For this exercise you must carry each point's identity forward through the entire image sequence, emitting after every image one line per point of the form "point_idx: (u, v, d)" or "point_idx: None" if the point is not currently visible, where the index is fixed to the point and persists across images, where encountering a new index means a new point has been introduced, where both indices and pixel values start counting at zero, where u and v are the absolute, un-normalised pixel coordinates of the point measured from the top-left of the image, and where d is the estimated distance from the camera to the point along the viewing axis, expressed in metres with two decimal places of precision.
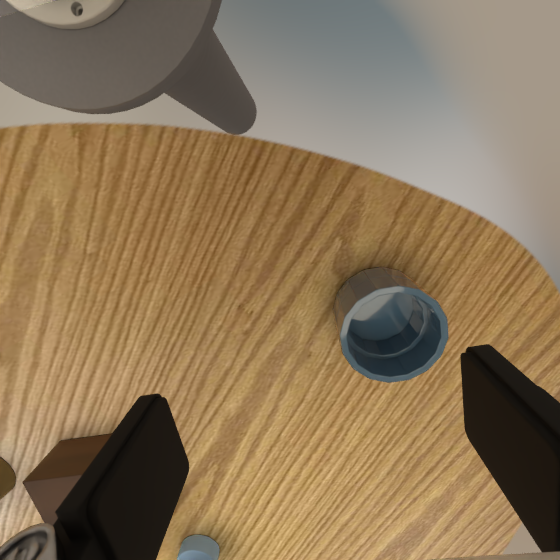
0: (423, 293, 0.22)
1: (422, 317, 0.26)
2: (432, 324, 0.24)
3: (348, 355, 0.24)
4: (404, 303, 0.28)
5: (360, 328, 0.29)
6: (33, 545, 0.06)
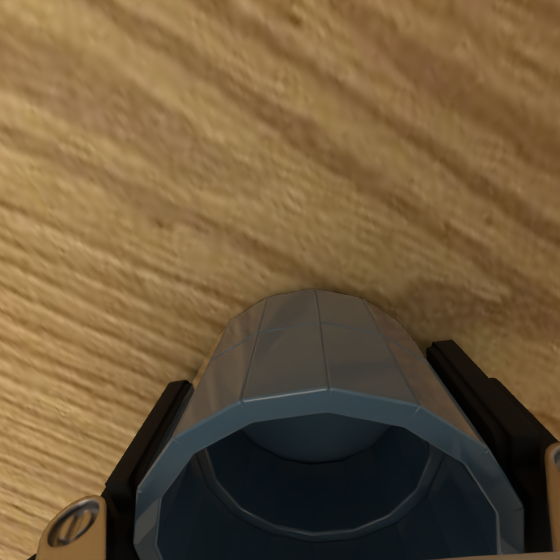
0: None
1: (324, 526, 0.10)
2: None
3: (234, 421, 0.06)
4: (327, 447, 0.12)
5: None
6: (87, 515, 0.07)
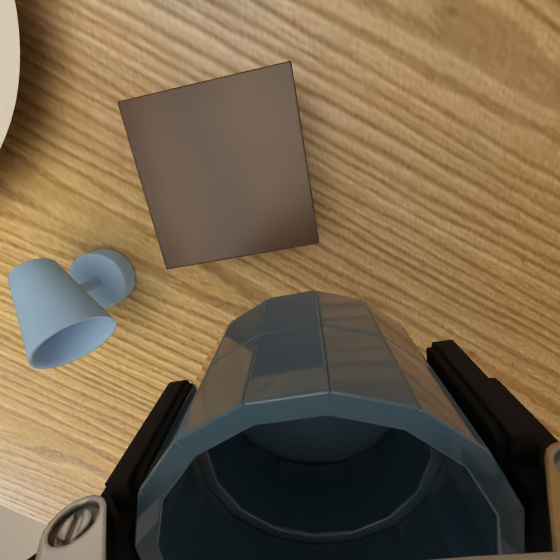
0: None
1: (325, 528, 0.10)
2: None
3: (235, 424, 0.06)
4: (328, 448, 0.12)
5: None
6: (87, 515, 0.07)
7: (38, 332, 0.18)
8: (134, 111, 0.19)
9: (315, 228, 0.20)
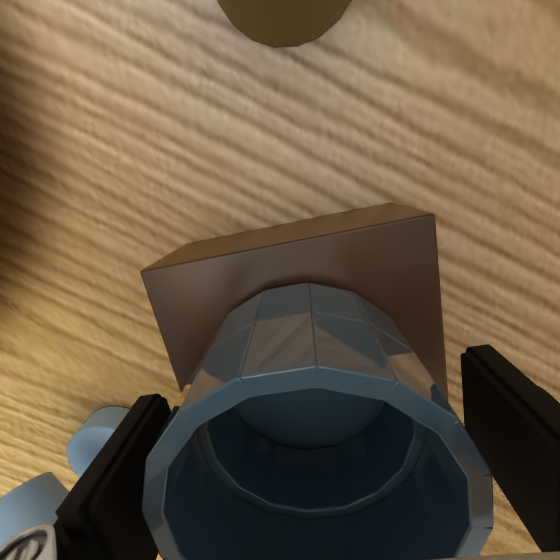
0: None
1: (317, 504, 0.10)
2: (317, 550, 0.09)
3: (233, 396, 0.06)
4: (321, 432, 0.12)
5: None
6: (33, 545, 0.06)
7: None
8: (167, 285, 0.12)
9: None
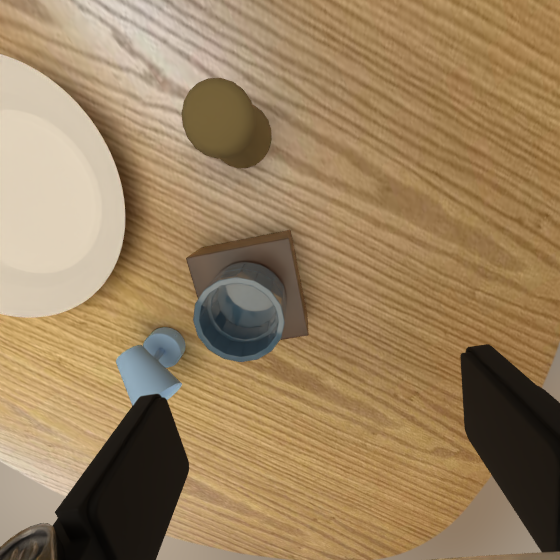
0: (278, 340, 0.27)
1: (248, 338, 0.30)
2: (246, 347, 0.29)
3: (217, 285, 0.26)
4: (254, 320, 0.32)
5: (228, 286, 0.31)
6: (33, 545, 0.06)
7: None
8: (196, 263, 0.31)
9: (305, 327, 0.33)
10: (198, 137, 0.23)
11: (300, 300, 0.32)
